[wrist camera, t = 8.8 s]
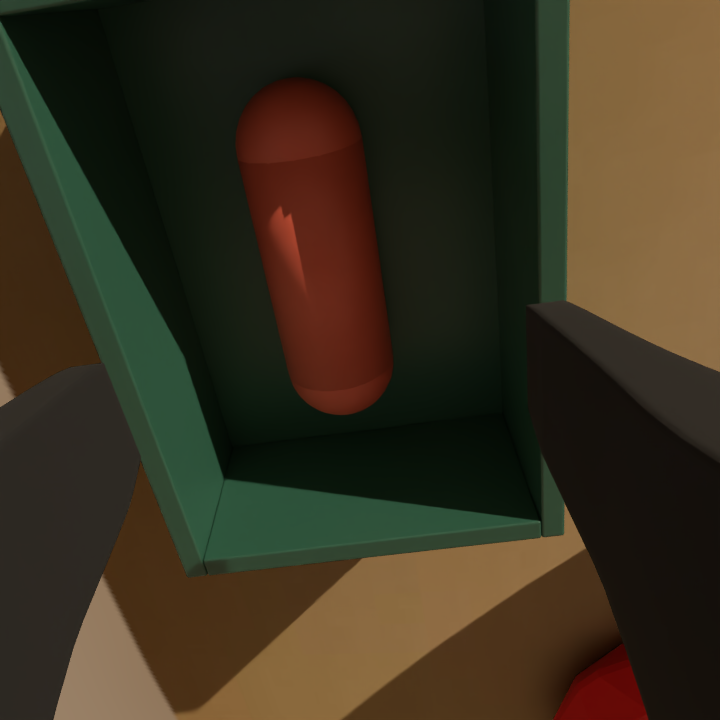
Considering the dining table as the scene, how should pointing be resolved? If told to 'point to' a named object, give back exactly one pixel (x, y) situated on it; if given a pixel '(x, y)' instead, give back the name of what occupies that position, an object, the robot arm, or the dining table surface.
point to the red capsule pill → (317, 241)
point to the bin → (246, 273)
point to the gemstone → (604, 692)
